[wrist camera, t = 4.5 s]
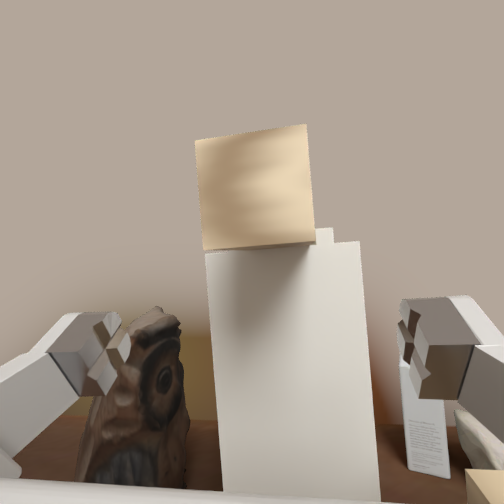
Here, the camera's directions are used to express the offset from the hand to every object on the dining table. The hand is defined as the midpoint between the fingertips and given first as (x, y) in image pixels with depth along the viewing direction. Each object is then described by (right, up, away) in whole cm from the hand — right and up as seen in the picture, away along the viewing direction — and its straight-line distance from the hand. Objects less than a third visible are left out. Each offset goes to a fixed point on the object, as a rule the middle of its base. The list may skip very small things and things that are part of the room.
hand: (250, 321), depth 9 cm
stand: (+5, -24, +19) cm, 31 cm away
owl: (-13, -25, +25) cm, 38 cm away
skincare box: (+21, -23, +27) cm, 41 cm away
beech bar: (+2, +2, +13) cm, 13 cm away
